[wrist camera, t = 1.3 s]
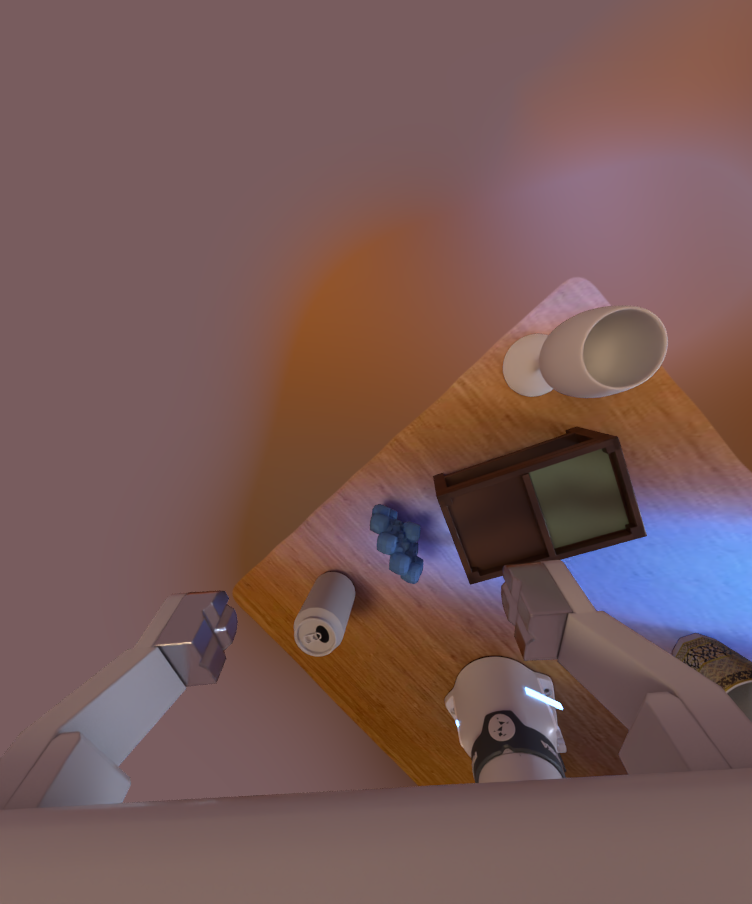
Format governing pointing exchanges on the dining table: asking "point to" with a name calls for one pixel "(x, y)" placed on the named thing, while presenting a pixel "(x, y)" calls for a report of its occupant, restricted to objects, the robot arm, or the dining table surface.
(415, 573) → the grapes
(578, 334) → the wineglass
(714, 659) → the ceramic cup
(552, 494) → the tray
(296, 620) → the can
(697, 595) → the dining table surface
